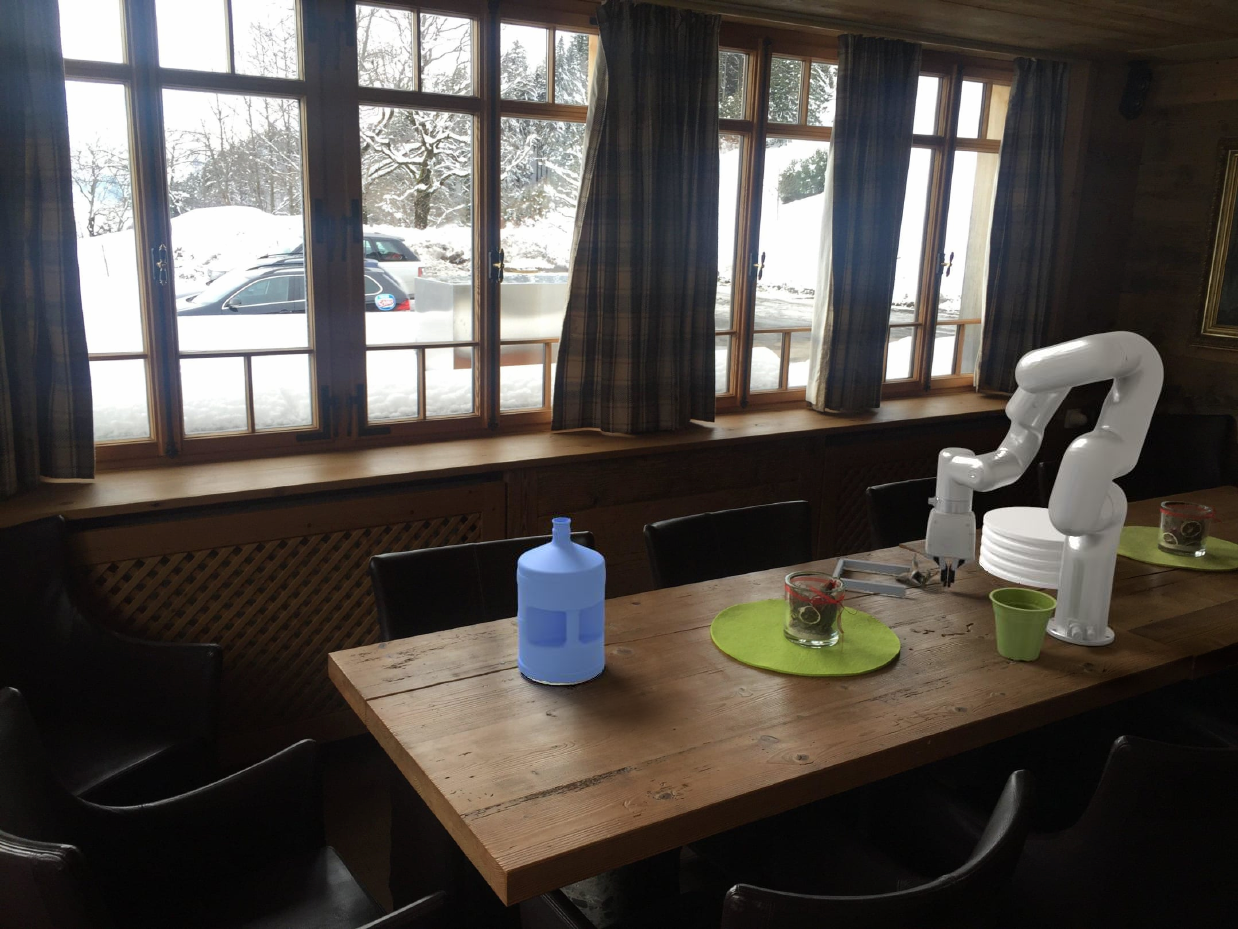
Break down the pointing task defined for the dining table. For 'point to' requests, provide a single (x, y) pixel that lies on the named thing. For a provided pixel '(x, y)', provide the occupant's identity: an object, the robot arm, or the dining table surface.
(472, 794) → the dining table surface
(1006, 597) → the plant pot
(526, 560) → the water jug
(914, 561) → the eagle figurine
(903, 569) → the gray frame
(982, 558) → the plate stack
